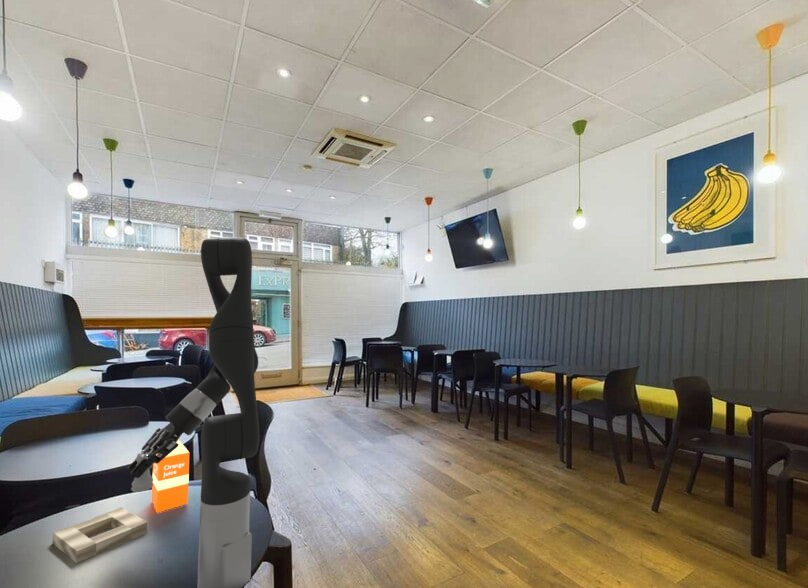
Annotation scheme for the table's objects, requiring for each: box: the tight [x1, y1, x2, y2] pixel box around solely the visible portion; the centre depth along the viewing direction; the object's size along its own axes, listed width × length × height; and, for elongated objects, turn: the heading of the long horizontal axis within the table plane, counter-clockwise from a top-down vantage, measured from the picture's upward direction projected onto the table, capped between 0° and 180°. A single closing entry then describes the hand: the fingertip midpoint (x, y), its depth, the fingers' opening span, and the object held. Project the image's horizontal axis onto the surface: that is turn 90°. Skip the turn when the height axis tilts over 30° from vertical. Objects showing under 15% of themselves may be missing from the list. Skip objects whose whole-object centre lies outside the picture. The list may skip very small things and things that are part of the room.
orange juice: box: [151, 439, 191, 514], centre depth 110 cm, size 8×9×20 cm
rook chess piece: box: [130, 452, 153, 493], centre depth 90 cm, size 4×4×8 cm
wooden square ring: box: [52, 507, 148, 564], centre depth 92 cm, size 14×14×2 cm
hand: (132, 473), depth 88 cm, fingers closed on rook chess piece, 3 cm apart
